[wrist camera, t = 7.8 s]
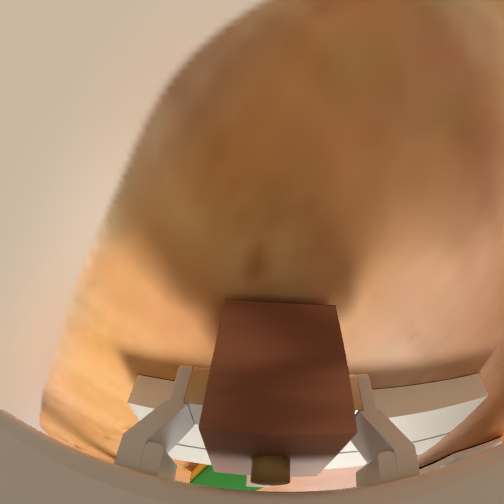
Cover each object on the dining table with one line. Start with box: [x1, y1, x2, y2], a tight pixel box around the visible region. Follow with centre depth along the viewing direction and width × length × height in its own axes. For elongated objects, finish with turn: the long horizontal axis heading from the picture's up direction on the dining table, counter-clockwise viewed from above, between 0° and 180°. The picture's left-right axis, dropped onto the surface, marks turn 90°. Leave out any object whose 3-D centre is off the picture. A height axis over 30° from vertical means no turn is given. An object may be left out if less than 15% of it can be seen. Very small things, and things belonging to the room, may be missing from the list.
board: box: [128, 373, 488, 469], centre depth 16 cm, size 22×10×2 cm, turn 89°
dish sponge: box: [190, 463, 263, 491], centre depth 23 cm, size 7×14×2 cm, turn 162°
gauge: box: [198, 299, 358, 488], centre depth 11 cm, size 4×13×6 cm, turn 178°
